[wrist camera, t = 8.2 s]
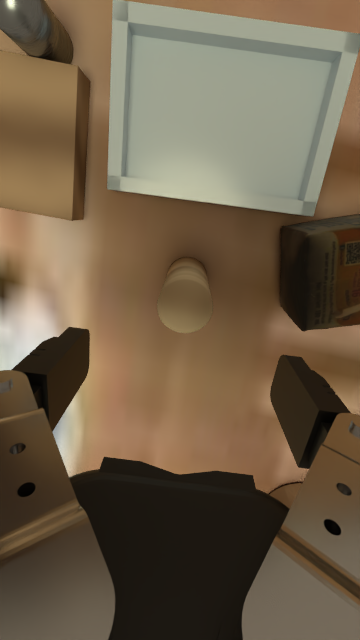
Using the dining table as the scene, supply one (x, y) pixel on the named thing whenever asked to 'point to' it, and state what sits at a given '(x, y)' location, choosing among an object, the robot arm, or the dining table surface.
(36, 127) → the tan flat block
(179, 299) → the tan cylinder
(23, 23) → the stop post
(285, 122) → the tray
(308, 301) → the beverage carton
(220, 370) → the dining table surface
